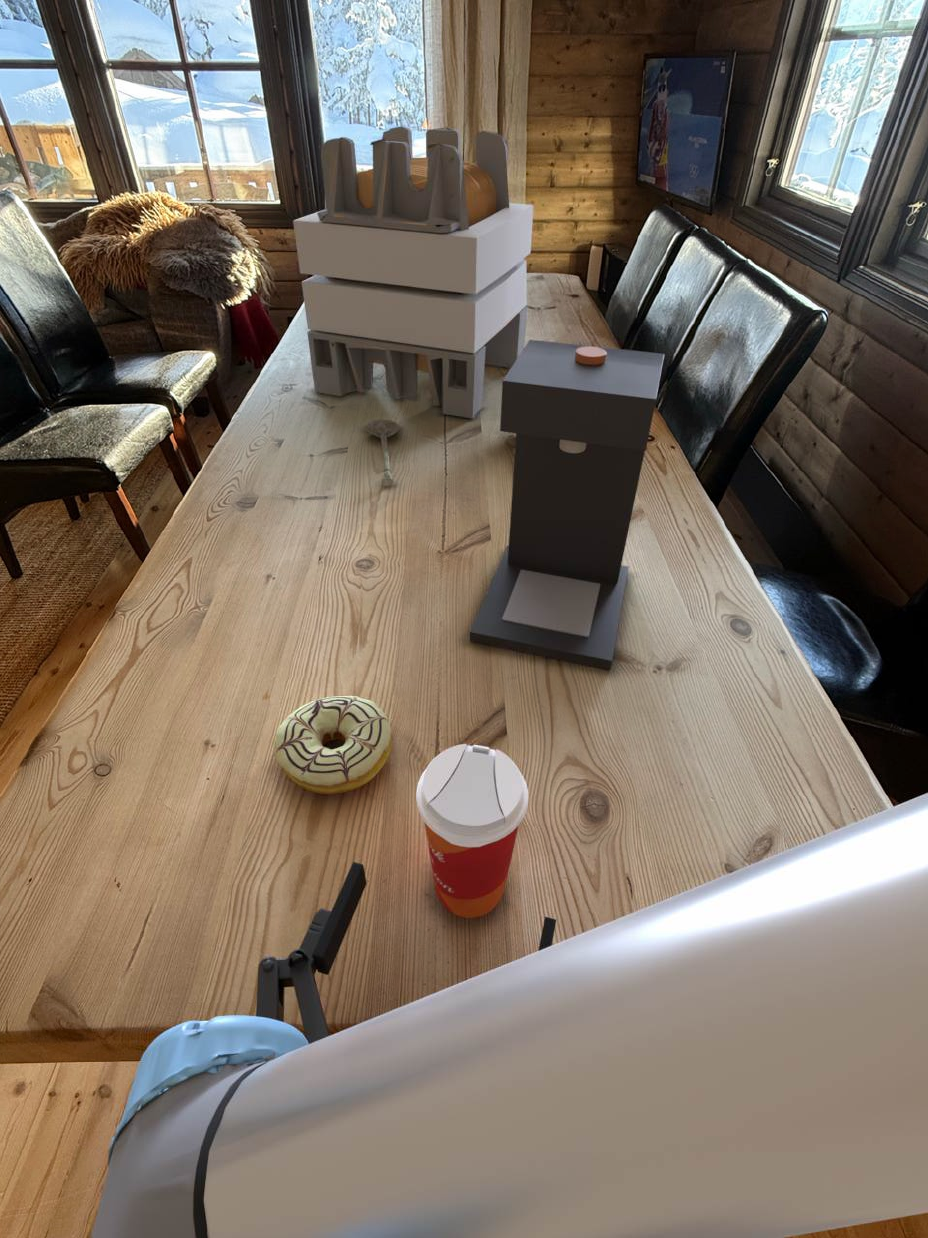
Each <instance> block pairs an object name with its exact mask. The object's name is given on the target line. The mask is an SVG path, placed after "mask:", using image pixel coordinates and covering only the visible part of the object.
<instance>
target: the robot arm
mask: <svg viewBox="0 0 928 1238" xmlns="http://www.w3.org/2000/svg"><path fill="white" fill-rule="evenodd" d="M367 884H368V883H367V877H366V872H365V867H364V863H363V864H362V863H359V862H356V861H352V863H351V866H350V868H349V870H348V873H347V875H346V877H345V880H344V882H343V884H342V886H341V889H340V891H339V893H338V895H337V897H336V900H335V902H334V904H333V907H332V909H331V910H329V909H326V908H323V907H321V908H320V909H318V911H317V912H316V913H315V914H314V915H313V918H312V920H311V923H310V924H309V927H308V929H307V931H306V933H305V935H304V937H303V940H302V942H301V944H300V946H299V948H296V949H293V950H292V951H291V952H290V953H289V955H288V957H284V958H276V957H275V956H273V955H268V956H265V957H264V958H262V959H261V960H260V962H259V964H258V968H257V987H256V988H257V989H256V1006H255V1007H256V1010H255V1015H243V1014H242V1015H241V1014H234V1015H233V1014H229V1015H217V1016H214V1017H213V1018H211V1019H209V1020H188V1021H185V1022H181V1023H179V1024H177V1025H175V1026H172V1027H171V1028H169V1029H167V1030H165V1031H163V1032H162V1033H161V1034H159V1035H158V1036H157V1037H156V1038H155V1039H153V1041H151V1043H150V1044H149V1045H148V1046H147V1048H146V1050H144V1052H143V1054H142V1056H141V1058H140V1061H139V1063H138V1065H137V1069H136V1073H135V1076H134V1079H133V1082H132V1085H131V1089H130V1092H129V1095H128V1098H127V1101H126V1104H125V1107H124V1110H123V1114H122V1117H121V1120H120V1122H119V1123H118V1125H117V1126H116V1129H115V1135H114V1136H113V1137H112V1138H111V1140H110V1143H109V1149H108V1156H107V1166H108V1169H107V1172H106V1175H105V1181H104V1184H103V1188H102V1192H101V1196H100V1201H99V1205H98V1207H97V1208H98V1209H97V1213H96V1217H95V1220H94V1225H93V1229H92V1232H91V1236H90V1238H790V1237H797V1236H801V1235H807V1234H812V1233H813V1234H814V1233H818V1232H825V1231H830V1230H836V1229H841V1228H848V1227H853V1226H859V1225H865V1224H871V1223H876V1222H881V1221H887V1220H893V1219H899V1218H906V1217H911V1216H917V1215H922V1214H928V792H926V793H924V794H922V795H918V796H916V797H914V798H912V799H909V800H907V801H904V802H902V803H899V804H897V805H894V806H892V807H889V808H887V809H885V810H882V811H880V812H877V813H874V814H872V815H869V816H867V817H864V818H863V819H859V820H858V821H854V822H852V823H850V824H847V825H845V826H842V827H840V828H838V829H835V830H833V831H830V832H828V833H826V834H822V835H820V836H817V837H815V838H813V839H810V840H808V841H806V842H803V843H801V844H799V845H798V844H797V845H796V846H793V847H791V848H788V849H786V850H783V851H781V852H779V853H776V854H774V855H771V856H769V857H766V858H763V859H762V860H759V861H756V862H754V863H752V864H749V865H747V866H744V867H741V868H739V869H737V870H734V871H732V872H730V873H727V874H725V875H722V876H720V877H717V878H714V879H713V880H712V879H711V880H710V881H707V882H705V883H702V884H700V885H697V886H695V887H692V888H690V889H687V890H685V891H683V892H680V893H678V894H675V895H673V896H670V897H667V898H666V899H663V900H661V901H659V902H655V903H653V904H651V905H648V906H646V907H643V908H642V909H639V910H636V911H634V912H631V913H628V914H626V915H623V916H621V917H618V918H616V919H613V920H611V921H608V922H607V923H604V924H601V925H599V926H596V927H593V928H592V929H589V930H587V931H584V932H582V933H578V934H577V935H574V936H572V937H570V938H567V939H564V940H562V941H559V942H557V943H555V944H553V941H554V935H555V929H556V925H557V919H555V918H552V917H549V916H544V920H543V924H542V925H543V926H542V929H541V934H540V941H539V946H538V950H537V951H535V952H532V953H530V954H527V955H525V956H523V957H521V958H518V959H515V960H513V961H511V962H508V963H506V964H503V965H501V966H498V967H496V968H493V969H490V970H488V971H486V972H483V973H481V974H479V975H476V976H473V977H471V978H468V979H466V980H463V981H461V982H459V983H456V984H454V985H452V986H449V987H446V988H444V989H441V990H439V991H436V992H434V993H432V994H428V995H427V996H424V997H422V998H419V999H417V1000H415V1001H412V1002H410V1003H407V1004H405V1005H402V1006H399V1007H397V1008H394V1009H392V1010H389V1011H387V1012H385V1013H383V1014H380V1015H378V1016H374V1017H373V1018H370V1019H368V1020H365V1021H362V1022H360V1023H358V1024H355V1025H353V1026H350V1027H348V1028H346V1029H345V1028H344V1029H343V1030H341V1031H338V1032H336V1033H333V1034H330V1030H329V1027H328V1024H327V1019H326V1015H325V1013H324V1008H323V1004H322V1000H321V997H320V996H321V995H320V992H319V987H318V984H317V981H316V977H315V975H316V972H317V973H318V974H319V973H320V974H322V975H326V976H329V974H330V972H331V970H332V967H333V965H334V963H335V961H336V959H337V956H338V954H339V951H340V949H341V947H342V944H343V942H344V939H345V937H346V934H347V931H348V930H349V927H350V925H351V922H352V919H353V917H354V915H355V913H356V911H357V908H358V906H359V903H360V900H361V899H362V896H363V894H364V892H365V889H366V886H367ZM286 988H294V992H295V997H296V1000H297V1005H298V1009H299V1014H300V1019H301V1022H302V1027H303V1030H304V1034H303V1033H302V1032H301V1031H300V1030H299V1029H298V1028H296V1027H295V1026H293V1025H291V1024H289V1023H287V1022H285V991H286V990H285V989H286Z"/></svg>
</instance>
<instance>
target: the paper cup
mask: <svg viewBox="0 0 928 1238" xmlns="http://www.w3.org/2000/svg"><path fill="white" fill-rule="evenodd" d="M415 792H416V793H415V795H416V796H415V800H416V806H417V810H418V813H419V815H420V817H421V819H422V820H423V822H424V823H423V824H424V829H425V835H426V842H427V849H428V854H429V855H428V856H429V861H430V868H431V872H432V873H431V874H432V879H433V883H434V884H433V885H434V888H435V889H434V890H435V892H436V896H437V898H438V900H439V901H440V903H441V905H442V906H443V907H444V908H445V909H446V910H447V911H448V912H450V913H451V914H453V915H455V916H457V917H459V918H465V919H476V918H480V917H483V916H485V915H488V914H489V913H490V912H492V911H493V910H494V909H495V908H496V907H497V906H498V904H499V902H500V901H501V899H502V897H503V894H504V891H505V887H506V884H507V879H508V875H509V871H510V867H511V862H512V858H513V853H514V848H515V844H516V841H517V835H518V830H519V826H520V824H521V823H522V821H523V820H524V817H525V816H526V813H527V810H528V805H529V796H530V795H529V790H528V786H527V782H526V779H525V778H524V776H523V774H522V773H521V771H520V769H519V767H518V766H517V765H516V763H515V762H514V761H513V759H512V758H510V756H508V755H507V754H506V753H505V752H503V751H501V750H499V749H498V748H496V749H490V747H489V746H485V745H478V744H473V745H467V743H460V744H457V745H453V746H450V747H448V748H446V749H445V750H443V751H441V752H440V753H439V754H437V755H436V756H435V757H434V758H433V759H432V760H431V761H430V762H429V764H428V765H427V767H426V768H425V770H424V771H423V772H422V774H421V775H420V777H419V780H418V782H417V786H416V791H415Z"/></svg>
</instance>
